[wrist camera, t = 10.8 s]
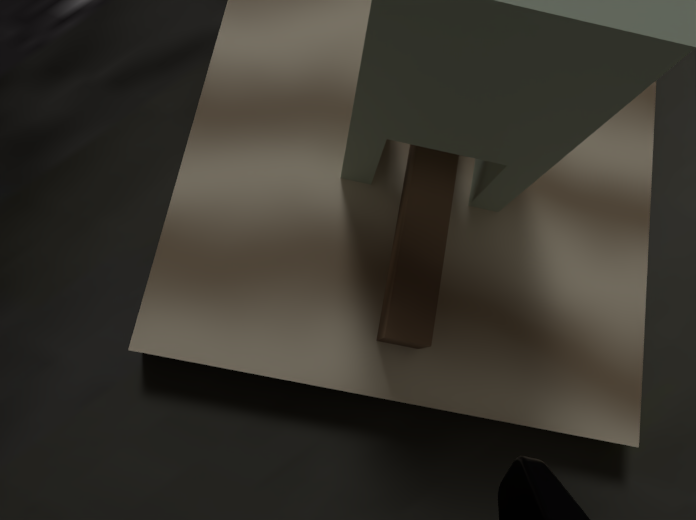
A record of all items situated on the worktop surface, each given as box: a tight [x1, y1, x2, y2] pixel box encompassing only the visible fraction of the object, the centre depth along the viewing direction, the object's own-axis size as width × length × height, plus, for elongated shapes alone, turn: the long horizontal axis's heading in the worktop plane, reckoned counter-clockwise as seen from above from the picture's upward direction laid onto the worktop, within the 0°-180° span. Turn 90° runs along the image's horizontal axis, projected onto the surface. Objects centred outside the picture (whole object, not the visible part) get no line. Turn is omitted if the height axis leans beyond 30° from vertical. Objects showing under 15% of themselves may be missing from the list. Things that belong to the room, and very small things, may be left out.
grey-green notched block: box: [341, 0, 696, 212], centre depth 15 cm, size 4×6×10 cm, turn 79°
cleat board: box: [128, 0, 656, 447], centre depth 20 cm, size 20×19×4 cm
